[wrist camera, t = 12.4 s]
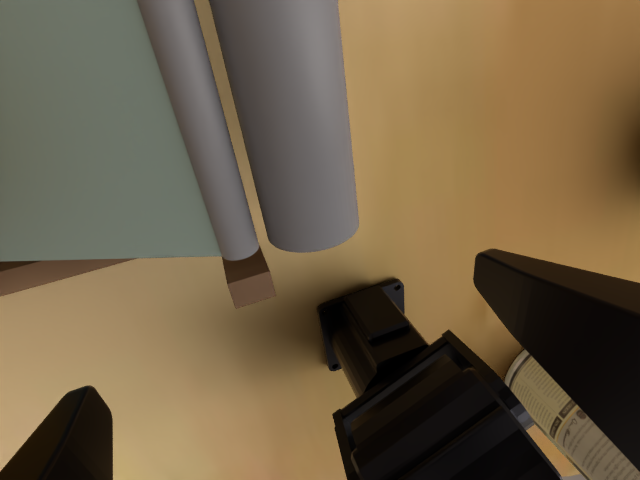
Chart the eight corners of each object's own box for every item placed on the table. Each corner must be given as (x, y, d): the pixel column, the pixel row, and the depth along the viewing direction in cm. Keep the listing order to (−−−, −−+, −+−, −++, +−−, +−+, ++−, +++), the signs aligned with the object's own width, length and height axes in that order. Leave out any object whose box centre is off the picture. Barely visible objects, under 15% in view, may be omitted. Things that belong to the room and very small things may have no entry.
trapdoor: (362, 203, 15) (353, 257, 12) (14, 221, 19) (-64, 266, 16) (297, -521, 7) (217, -967, 4) (-283, -238, 11) (-570, -341, 8)
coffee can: (596, 318, 39) (776, 439, 27) (560, 387, 43) (701, 515, 32) (521, 334, 36) (689, 480, 24) (490, 407, 40) (619, 558, 28)
